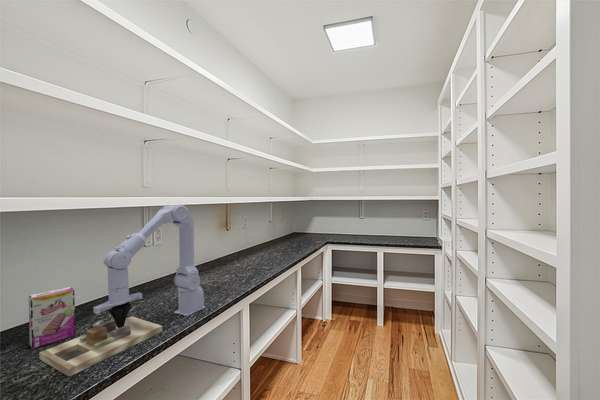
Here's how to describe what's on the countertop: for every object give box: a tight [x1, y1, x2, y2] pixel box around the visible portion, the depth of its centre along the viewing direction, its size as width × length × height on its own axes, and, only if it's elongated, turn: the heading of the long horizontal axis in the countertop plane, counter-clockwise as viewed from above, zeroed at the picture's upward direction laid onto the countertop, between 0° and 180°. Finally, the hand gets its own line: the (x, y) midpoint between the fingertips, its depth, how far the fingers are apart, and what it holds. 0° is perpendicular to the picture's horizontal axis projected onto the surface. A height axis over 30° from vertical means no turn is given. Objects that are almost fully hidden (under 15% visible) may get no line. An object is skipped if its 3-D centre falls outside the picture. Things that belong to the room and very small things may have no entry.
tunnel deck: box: [38, 316, 163, 377], centre depth 90 cm, size 27×18×5 cm, turn 151°
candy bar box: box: [28, 286, 76, 350], centre depth 93 cm, size 11×5×16 cm, turn 141°
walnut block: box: [85, 324, 107, 346], centre depth 88 cm, size 4×4×4 cm
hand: (120, 326), depth 94 cm, fingers closed
